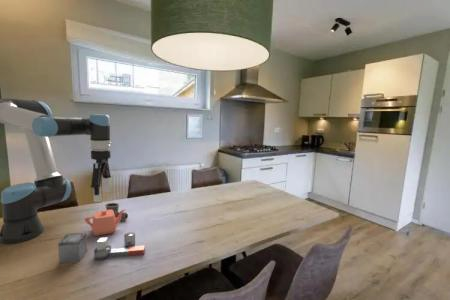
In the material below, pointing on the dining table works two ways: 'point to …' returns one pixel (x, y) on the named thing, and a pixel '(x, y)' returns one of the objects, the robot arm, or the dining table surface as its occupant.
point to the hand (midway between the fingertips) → (102, 196)
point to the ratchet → (115, 250)
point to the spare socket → (129, 239)
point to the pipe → (116, 210)
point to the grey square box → (72, 247)
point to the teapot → (104, 222)
